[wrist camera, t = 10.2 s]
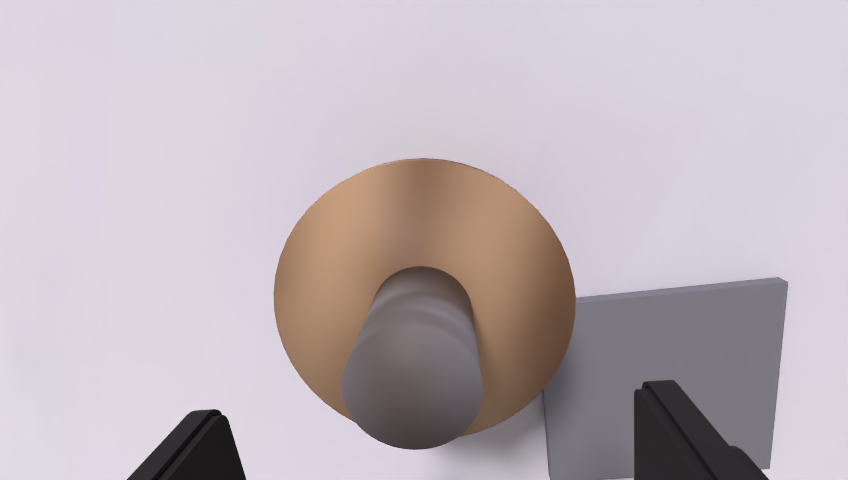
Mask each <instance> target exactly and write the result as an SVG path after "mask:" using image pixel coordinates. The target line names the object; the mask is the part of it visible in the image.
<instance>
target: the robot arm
mask: <svg viewBox="0 0 848 480" xmlns="http://www.w3.org/2000/svg"><path fill="white" fill-rule="evenodd" d="M127 480H246V477H245V474H244V471H243V467H242V464H241V461H240V458H239V454H238V451H237V448H236V444H235V441H234V438H233V435H232V431H231V428H230V425H229V421H228V419H227V417H226V416H224V415H222V414H221V412H220V411H219V410H216V409H213V410H197V411H192V412H190V413H189V414H188V415H187V416H186V417H185V418H184V419H183V420H182V421H181V422H180V423H179V424H178V425H177V426H176V427H175V429H174V430H173V431H172V432H171V433H170V434H169V435H168V436H167V437H166V438H165V439H164V440H163V441H162V443H161V444H160V445H159V446H158V447H157V448H156V449H155V450H154V451H153V452H152V453H151V454H150V455H149V456H148V458H147V459H146V460H145V461H144V462H143V463H142V464H141V465H140V466H139V467H138V468H137V469H136V470H135V471H134V473H133V474H132V475H131V476H130V477H129V478H128V479H127ZM634 480H769V479H768V478H767V477H766V476H765V475H764V473H763V472H762V471H761V470H760V469H759V468H758V467H757V465H756V464H755V463H754V462H753V461H752V460H751V458H750V457H749V456H748V455H747V454H746V453H745V452H744V451H743V450H742V449H740V448H738V447H736V446H729V445H728V444H727V442H726V441H725V440H724V439H723V438H722V436H721V435H720V434H719V433H718V432H717V430H716V429H715V428H714V427H713V426H712V424H711V423H710V422H709V421H708V420H707V418H706V417H705V416H704V415H703V414H702V412H701V411H700V410H699V409H698V408H697V406H696V405H695V404H694V403H693V402H692V400H691V399H690V398H689V397H688V396H687V394H686V393H685V392H684V391H683V390H682V388H681V387H680V386H679V385H678V384H677V383H676V382H675V381H674V380H659V381H645V382H643V384H642V389H636V390H635V391H634Z"/></svg>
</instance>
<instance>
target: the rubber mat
mask: <svg viewBox="0 0 848 480" xmlns="http://www.w3.org/2000/svg"><path fill="white" fill-rule="evenodd" d="M787 289H788V282H787V281H785V280H783V279H781V278H778V277H777V278H767V279H757V280H748V281H738V282H728V283H718V284H708V285H698V286H689V287H679V288H669V289H659V290H649V291H639V292H630V293H620V294H610V295H600V296H590V297H580V298H576V305H575V320H574V326H573V332H572V336H571V339H570V342H569V346H568V349H567V352H566V354H565V356H564V358H563V360H562V362H561V364H560V366H559V368H558V370H557V371H556V373H555V374H554V376H553V377H552V379H551V380H550V382H549V383H548V384H547V385H546V386H545V388H544V389H543V398H544V412H545V426H546V441H547V455H548V469H549V476H550V480H601V479H617V478H632V477H634V391H635V390H636V389H642V384H643V382H645V381H659V380H674V381H675V382H676V383H677V384H678V385H679V386H680V387H681V388H682V390H683V391H684V392H685V393H686V394H687V396H688V397H689V398H690V399H691V400H692V402H693V403H694V404H695V405H696V406H697V408H698V409H699V410H700V411H701V412H702V414H703V415H704V416H705V417H706V418H707V420H708V421H709V422H710V423H711V424H712V426H713V427H714V428H715V429H716V430H717V432H718V433H719V434H720V435H721V436H722V438H723V439H724V440H725V441H726V442H727V444H728V445H729V446H736V447H738V448H740V449H742V450H743V451H744V452H745V453H746V454H747V455H748V456H749V457H750V458H751V460H752V461H753V462H754V463H755V464H756V465H757V467H758V468H759V469H770V460H771V450H772V440H773V430H774V420H775V410H776V400H777V390H778V380H779V369H780V359H781V349H782V339H783V329H784V319H785V309H786V299H787Z"/></svg>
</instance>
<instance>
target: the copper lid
mask: <svg viewBox="0 0 848 480" xmlns="http://www.w3.org/2000/svg"><path fill="white" fill-rule="evenodd" d="M575 305H576V296H575V288H574V279H573V275H572V272H571V268H570V264H569V261H568V258H567V256H566V254H565V251H564V249H563V247H562V244H561V242H560V241H559V239H558V237H557V236H556V234H555V232H554V231H553V229H552V228H551V226H550V225H549V223H548V222H547V221H546V220H545V219H544V217H543V216H542V215H541V214H540V213H539V211H538V210H537V209H536V208H535V207H534V206H533V205H532V204H531V203H529V202H528V201H527V200H526V199H525V198H524V197H523V196H522V195H521V194H520V193H518V192H517V191H516V190H515V189H513V188H512V187H510V186H509V185H508V184H506V183H505V182H503V181H502V180H500V179H498V178H496V177H494V176H492V175H490V174H488V173H486V172H484V171H482V170H480V169H477V168H474V167H471V166H468V165H465V164H462V163H457V162H452V161H447V160H441V159H426V158H420V159H405V160H398V161H394V162H389V163H384V164H381V165H378V166H375V167H372V168H369V169H366V170H364V171H362V172H360V173H358V174H356V175H354V176H352V177H350V178H348V179H346V180H345V181H343V182H341V183H339V184H338V185H336V186H335V187H333V188H332V189H331V190H329V191H328V192H326V193H325V194H324V195H322V196H321V197H320V198H319V199H318V200H317V201H316V202H315V203H314V204H313V205H312V206H311V207H310V208H309V209H308V210H307V211H306V212H305V214H304V215H303V216H302V217H301V219H300V220H299V221H298V222H297V224H296V225H295V227H294V229H293V230H292V232H291V234H290V236H289V237H288V239H287V241H286V243H285V246H284V248H283V251H282V253H281V256H280V259H279V263H278V267H277V271H276V275H275V285H274V311H275V317H276V322H277V328H278V331H279V334H280V338H281V341H282V344H283V346H284V348H285V351H286V353H287V355H288V357H289V359H290V361H291V363H292V364H293V366H294V367H295V369H296V371H297V372H298V374H299V375H300V377H301V378H302V379H303V380H304V381H305V383H306V384H307V385H308V386H309V388H310V389H311V390H312V391H313V392H314V393H315V394H316V395H317V396H318V397H319V398H321V399H322V400H323V401H324V402H325V403H326V404H328V405H329V406H330V407H332V408H333V409H334V410H336V411H337V412H338V413H340V414H342V415H343V416H345V417H347V418H348V419H350V420H352V421H354V422H356V423H357V425H358V426H359V427H360V428H361V429H362V430H363V431H365V432H366V433H367V434H369V435H370V436H371V437H373V438H375V439H376V440H378V441H380V442H382V443H385V444H387V445H390V446H393V447H397V448H402V449H412V450H417V449H428V448H433V447H437V446H440V445H443V444H446V443H448V442H450V441H452V440H454V439H455V438H457V437H460V436H464V435H468V434H472V433H476V432H479V431H481V430H484V429H487V428H489V427H492V426H494V425H496V424H498V423H500V422H502V421H504V420H506V419H508V418H510V417H511V416H512V415H514V414H515V413H517V412H518V411H520V410H521V409H523V408H524V407H525V406H526V405H527V404H529V403H530V402H531V401H532V400H533V399H534V398H535V397H537V396H538V394H539V393H540V392H541V391H542V390H543V389H544V388H545V386H546V385H547V384H548V383H549V382H550V380H551V379H552V377H553V376H554V374H555V373H556V371H557V370H558V368H559V366H560V364H561V362H562V360H563V358H564V356H565V354H566V352H567V349H568V346H569V342H570V339H571V336H572V332H573V326H574V320H575Z"/></svg>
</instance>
